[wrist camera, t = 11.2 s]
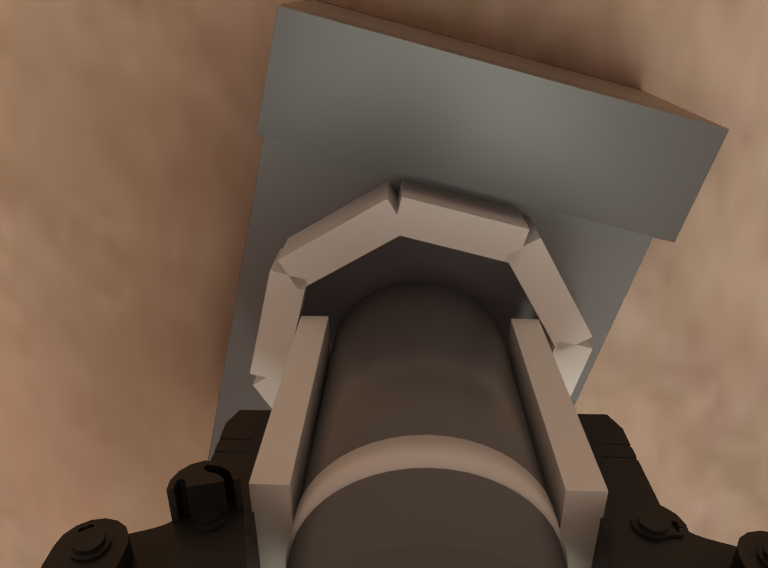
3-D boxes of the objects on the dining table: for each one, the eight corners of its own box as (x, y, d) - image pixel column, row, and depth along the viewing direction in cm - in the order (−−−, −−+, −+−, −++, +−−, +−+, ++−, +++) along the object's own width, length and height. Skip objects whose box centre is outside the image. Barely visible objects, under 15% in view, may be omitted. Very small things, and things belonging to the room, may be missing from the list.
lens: (415, 460, 20) (422, 797, 12) (293, 358, 18) (201, 658, 10) (545, 362, 18) (660, 673, 10) (422, 243, 17) (437, 488, 9)
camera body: (488, 461, 28) (511, 593, 22) (236, 404, 27) (188, 525, 21) (642, 90, 21) (737, 132, 15) (313, -1, 20) (274, 5, 14)
